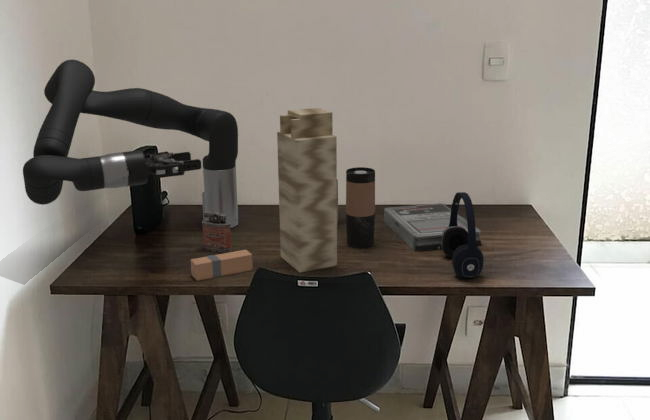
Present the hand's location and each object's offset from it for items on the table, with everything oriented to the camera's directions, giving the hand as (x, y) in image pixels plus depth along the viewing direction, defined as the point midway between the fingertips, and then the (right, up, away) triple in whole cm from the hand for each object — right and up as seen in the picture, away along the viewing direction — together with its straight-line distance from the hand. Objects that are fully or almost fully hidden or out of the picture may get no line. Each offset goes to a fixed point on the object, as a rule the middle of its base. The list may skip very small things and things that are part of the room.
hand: (195, 160), depth 160 cm
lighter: (+1, -22, +25) cm, 33 cm away
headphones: (+62, -25, +11) cm, 68 cm away
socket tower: (+25, -24, +16) cm, 38 cm away
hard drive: (+58, -18, +36) cm, 71 cm away
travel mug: (+39, -20, +28) cm, 52 cm away
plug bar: (+5, -26, +9) cm, 28 cm away
